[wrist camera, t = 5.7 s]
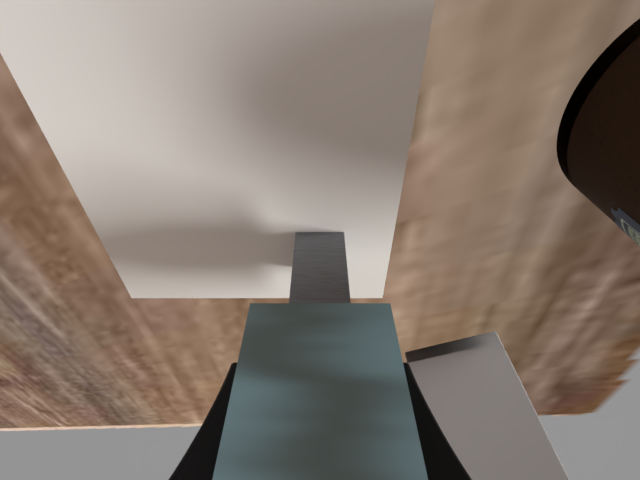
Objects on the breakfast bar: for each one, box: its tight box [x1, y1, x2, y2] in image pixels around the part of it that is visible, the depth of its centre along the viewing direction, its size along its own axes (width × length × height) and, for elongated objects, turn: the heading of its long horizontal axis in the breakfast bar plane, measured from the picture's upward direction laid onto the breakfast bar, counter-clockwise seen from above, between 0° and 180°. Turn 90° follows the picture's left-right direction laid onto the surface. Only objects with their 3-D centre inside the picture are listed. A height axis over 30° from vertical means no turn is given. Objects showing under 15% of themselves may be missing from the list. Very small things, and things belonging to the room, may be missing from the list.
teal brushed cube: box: [212, 303, 428, 480], centre depth 11 cm, size 5×5×7 cm
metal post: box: [289, 232, 351, 303], centre depth 17 cm, size 3×3×5 cm
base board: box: [0, 0, 435, 298], centre depth 16 cm, size 16×16×1 cm
